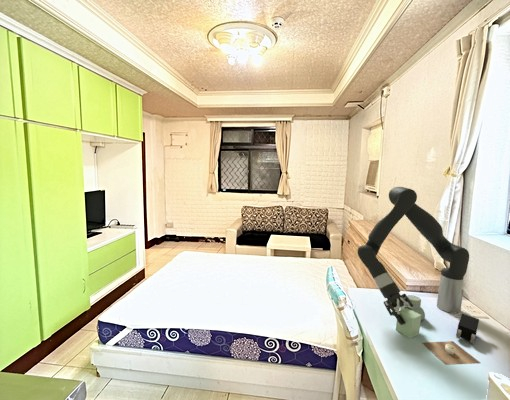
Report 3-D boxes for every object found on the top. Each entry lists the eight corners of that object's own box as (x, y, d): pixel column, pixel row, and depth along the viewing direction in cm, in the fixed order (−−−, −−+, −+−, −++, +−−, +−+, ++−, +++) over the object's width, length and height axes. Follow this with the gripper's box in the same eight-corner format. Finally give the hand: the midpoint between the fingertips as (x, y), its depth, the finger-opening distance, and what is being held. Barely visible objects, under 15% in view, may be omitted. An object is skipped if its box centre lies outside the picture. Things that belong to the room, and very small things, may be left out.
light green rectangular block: (403, 326, 118) (406, 307, 117) (418, 334, 112) (421, 314, 111) (395, 330, 115) (397, 311, 113) (410, 339, 109) (413, 318, 108)
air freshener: (426, 325, 120) (428, 304, 119) (406, 322, 122) (408, 302, 121) (416, 312, 131) (418, 293, 130) (398, 310, 133) (400, 291, 131)
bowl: (449, 349, 103) (450, 344, 103) (456, 354, 100) (457, 349, 100) (442, 349, 103) (443, 344, 102) (449, 355, 100) (449, 349, 100)
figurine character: (474, 353, 105) (477, 333, 116) (477, 336, 103) (480, 317, 114) (453, 345, 109) (458, 326, 120) (455, 329, 108) (460, 311, 119)
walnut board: (452, 343, 108) (453, 341, 108) (480, 365, 96) (480, 362, 96) (420, 344, 107) (421, 342, 107) (445, 367, 95) (445, 364, 95)
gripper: (383, 285, 115) (406, 323, 106) (401, 278, 122) (425, 314, 114) (371, 291, 120) (392, 328, 111) (389, 285, 127) (411, 319, 119)
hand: (409, 321), depth 113 cm, fingers open, 8 cm apart
